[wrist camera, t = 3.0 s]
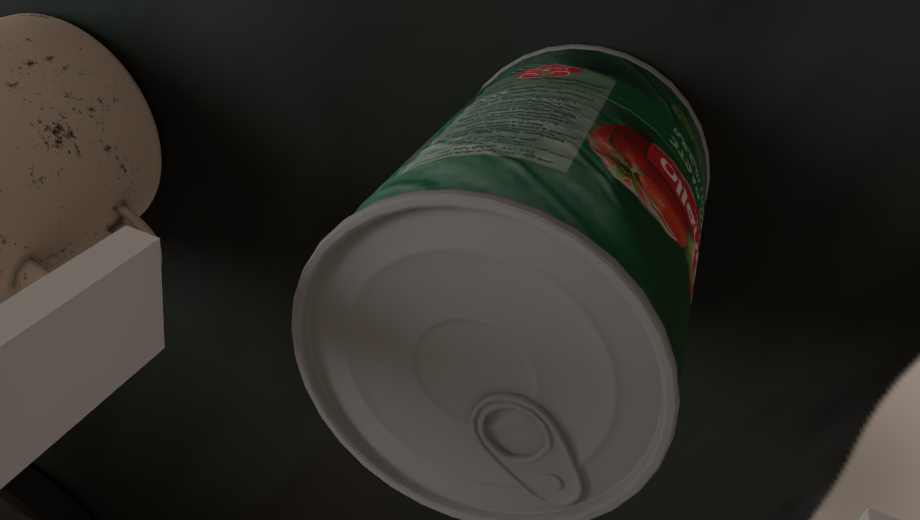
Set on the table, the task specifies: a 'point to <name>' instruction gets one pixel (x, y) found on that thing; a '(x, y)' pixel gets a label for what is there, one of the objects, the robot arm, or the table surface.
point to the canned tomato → (517, 295)
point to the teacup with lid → (67, 148)
